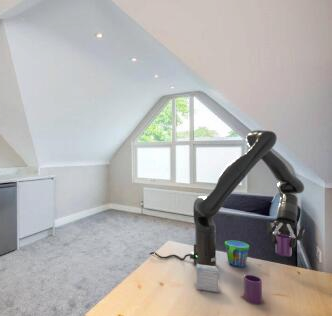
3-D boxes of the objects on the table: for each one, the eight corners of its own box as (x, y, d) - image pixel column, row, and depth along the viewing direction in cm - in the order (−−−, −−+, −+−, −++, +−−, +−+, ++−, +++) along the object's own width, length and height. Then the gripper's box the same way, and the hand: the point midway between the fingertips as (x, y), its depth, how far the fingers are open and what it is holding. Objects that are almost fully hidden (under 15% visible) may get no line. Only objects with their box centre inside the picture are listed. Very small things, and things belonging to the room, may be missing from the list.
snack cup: (234, 256, 130) (234, 237, 130) (255, 263, 121) (255, 243, 121) (217, 264, 122) (217, 243, 122) (240, 272, 113) (239, 250, 113)
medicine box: (216, 287, 101) (216, 266, 101) (218, 293, 96) (218, 271, 96) (196, 284, 103) (195, 263, 103) (196, 289, 99) (196, 268, 99)
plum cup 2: (274, 253, 111) (274, 236, 110) (277, 250, 115) (276, 233, 114) (290, 257, 107) (290, 239, 106) (292, 253, 111) (292, 236, 110)
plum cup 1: (242, 299, 92) (242, 278, 92) (246, 293, 96) (246, 273, 96) (259, 306, 88) (259, 283, 88) (263, 299, 92) (263, 278, 92)
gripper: (267, 207, 121) (262, 237, 112) (306, 211, 110) (303, 244, 102) (269, 215, 124) (264, 245, 116) (307, 220, 114) (304, 253, 106)
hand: (282, 245), depth 109 cm, fingers closed on plum cup 2, 5 cm apart
